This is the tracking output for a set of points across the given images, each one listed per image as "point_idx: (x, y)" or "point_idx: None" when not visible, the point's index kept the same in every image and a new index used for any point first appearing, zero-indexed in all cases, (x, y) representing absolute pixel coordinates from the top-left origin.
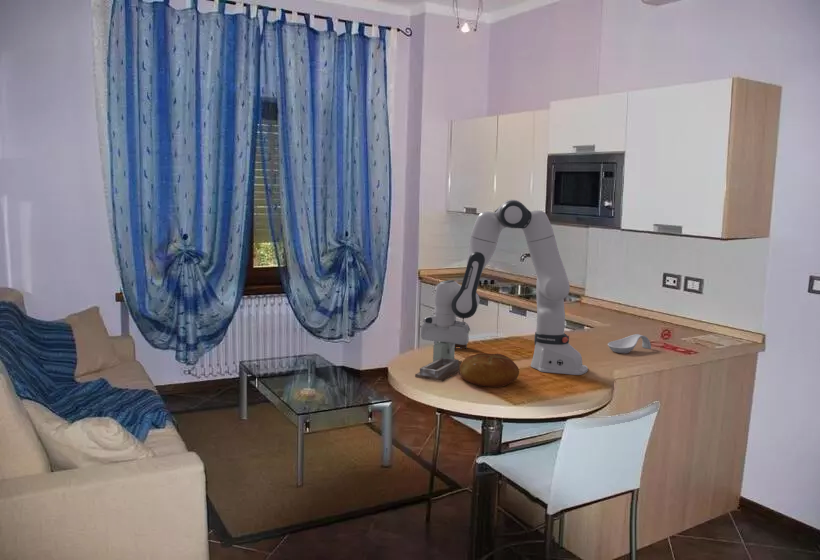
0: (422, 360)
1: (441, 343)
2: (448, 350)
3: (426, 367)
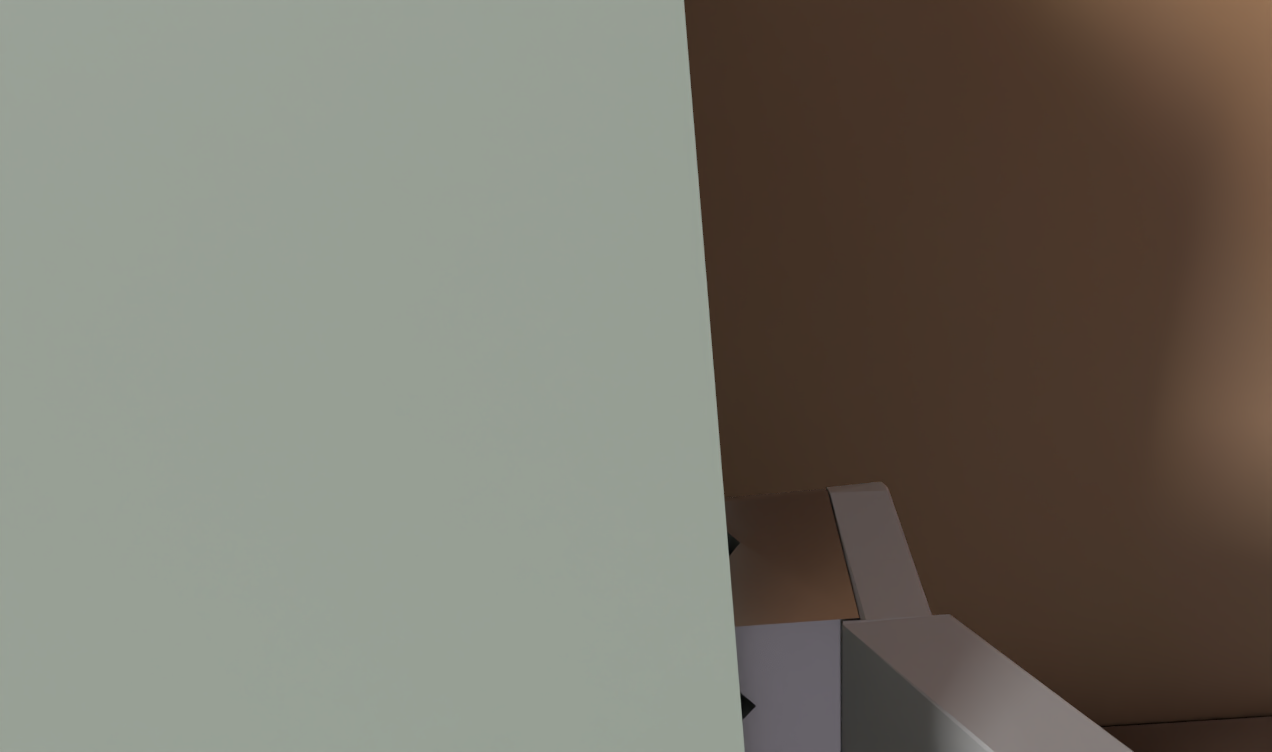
0: None
1: None
2: (799, 732)
3: None
